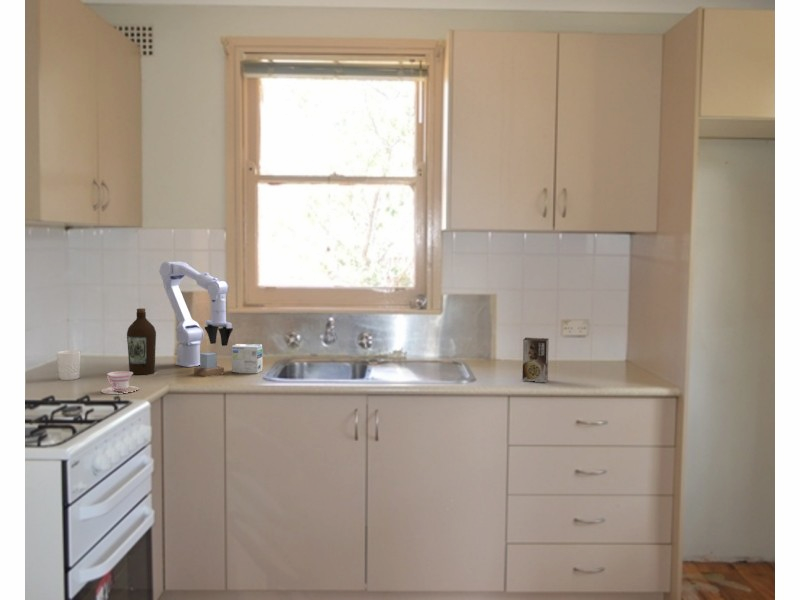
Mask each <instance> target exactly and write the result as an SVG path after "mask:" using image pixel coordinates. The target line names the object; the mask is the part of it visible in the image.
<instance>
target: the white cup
mask: <svg viewBox="0 0 800 600" xmlns="http://www.w3.org/2000/svg"><path fill="white" fill-rule="evenodd" d="M56 355H57V356H56V359H57V370H58V376H59V377H58V378H59V380H61V381H69V380H70V381H72V380H77V379H79V378H80V370H81V350H78V349H71V350H70V349H69V350H67V349H66V350H60V351H59V350H58V351H57V352H56Z"/></svg>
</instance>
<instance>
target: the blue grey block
mask: <svg viewBox="0 0 800 600" xmlns="http://www.w3.org/2000/svg"><path fill="white" fill-rule="evenodd" d="M217 366H218V353H216V352H212V351H211V352H200V366H199V367H200V368H204V369H211V368H217Z"/></svg>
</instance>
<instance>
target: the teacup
mask: <svg viewBox="0 0 800 600" xmlns="http://www.w3.org/2000/svg"><path fill="white" fill-rule="evenodd" d="M133 375H134V374H133V372H129V370H128V371H127V370H125V371H124V370H120V371H118V370H117V371H111V372H107V375H106V376H107V382H109V384H110V385H111V386H109V387H106V388H103V389H101V393H103V394H105V395H106V394H107V395H124V394H123V393H118V392H117V391H122V392H124V393H126V394H129V393H128V392H125V390H126V389H127V388H128V387H132V388H137V390H138V389H140V388H139V387H137V386H134V385H130V383H129V382H130V380H131V377H132V376H133ZM112 389H113V390H112ZM107 390H110V392H109V393H106V392H105V391H107ZM126 391H127V390H126ZM138 391H139V390H138ZM131 392H132V393H134V392H133V391H131ZM135 392H137V391H136V390H135Z"/></svg>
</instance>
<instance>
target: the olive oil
mask: <svg viewBox="0 0 800 600" xmlns="http://www.w3.org/2000/svg"><path fill="white" fill-rule="evenodd" d="M146 317H147V312H146V308H143V307H141V308H140V307H139V308H137V309H136V318H135V320H134V321H133V322H132V323H131V324H130V325H129V326H128V328H127V332H126V343H127V354H128V357H127V358H128V372H133V374H132V375H136V376H137V375H138V376H140V375H150V374H151V375H152V374H153V373H155V372H156V347H157V346H156V341H157V331H156V328H155V326H154V325H153V324H152V323H151V322H150V321H149V320H148V319H147V318H146Z"/></svg>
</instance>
